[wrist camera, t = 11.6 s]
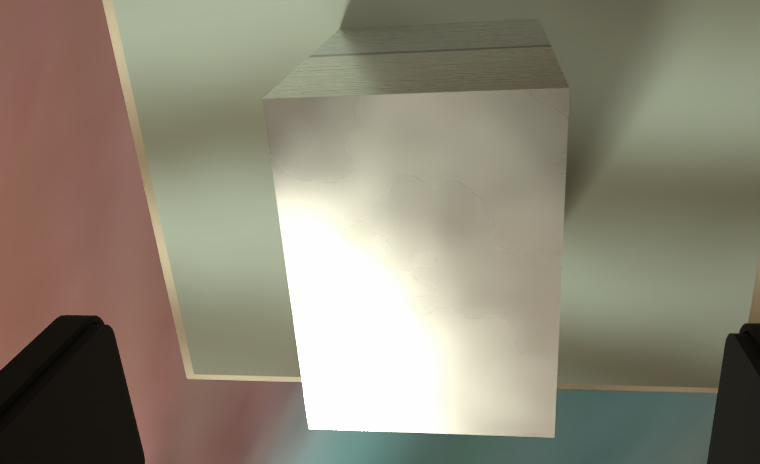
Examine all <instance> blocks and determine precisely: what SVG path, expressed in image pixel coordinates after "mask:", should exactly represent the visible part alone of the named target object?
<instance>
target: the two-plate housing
mask: <svg viewBox="0 0 760 464" xmlns="http://www.w3.org/2000/svg"><path fill="white" fill-rule="evenodd" d="M569 91H570V87H569V85H568V83H567V81H566V78H565V76H564V74H563V72H562V69H561V67H560V65H559V62H558V60H557V58H556V56H555V53H554V51H553V49H552V47H551V44H550V42H549V40H548V37H547V35H546V33H545V31H544V28H543V26H542V24H541V22H540V19H521V20H501V21H482V22H462V23H442V24H422V25H403V26H383V27H363V28H343V29H339V30H337V31H336V32H335V33H334V34H333V35H332V36H331V37H330V38H329V39H328V40H326V41H325V42H324V43H323V44H322V45H321V46H320V47H319V48H318V49H316V50H315V51H314V52H313V53H312V54H311V55H310V56H309V57H308V58H307V59H305V60H304V61H303V62H302V63H301V64H300V65H299V66H298V67H297V68H296V69H294V70H293V71H292V72H291V73H290V74H289V75H288V76H287V77H286V78H285V79H283V80H282V81H281V82H280V83H279V84H278V85H277V86H276V87H275V88H274V89H272V90H271V91H270V92H269V93H268V94H267V95H266V96H265V97H264V98H263V99H262V102H263V109H264V116H265V123H266V130H267V137H268V144H269V151H270V158H271V165H272V172H273V179H274V186H275V193H276V200H277V207H278V215H279V222H280V229H281V236H282V243H283V250H284V257H285V264H286V271H287V278H288V285H289V292H290V299H291V306H292V313H293V320H294V327H295V334H296V341H297V349H298V356H299V363H300V370H301V377H302V384H303V391H304V398H305V405H306V412H307V419H308V426H309V429H327V430H355V431H382V432H410V433H437V434H465V435H492V436H520V437H547V438H555V416H556V392H557V369H558V346H559V323H560V300H561V277H562V254H563V230H564V207H565V184H566V161H567V138H568V115H569Z"/></svg>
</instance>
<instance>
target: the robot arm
mask: <svg viewBox="0 0 760 464" xmlns="http://www.w3.org/2000/svg"><path fill="white" fill-rule="evenodd" d="M0 464H145V458H144V452H143V448H142V444H141V440H140V436H139V432H138V428H137V424H136V420H135V416H134V412H133V408H132V404H131V400H130V396H129V391H128V387H127V383H126V379H125V375H124V371H123V367H122V363H121V359H120V355H119V351H118V347H117V343H116V339H115V335H114V332H113V329H112V328H111V327H110V326H109V325H104V322H103V321H102V319H101V318H100V317H98V316H83V315H64V316H60V317H58V318H57V319H55V320H54V321H53V322H52V323H51V324H50V325H49V326H48V327H47V328H46V329H45V330H44V331H42V332H41V333H40V334H39V335H38V336H37V337H36V338H35V339H34V340H33V341H32V342H31V343H30V344H28V345H27V346H26V347H25V348H24V349H23V350H22V351H21V352H20V353H19V354H18V355H17V356H16V357H14V358H13V359H12V360H11V361H10V362H9V363H8V364H7V365H6V366H5V367H4V368H3V369H2V370H0ZM707 464H760V323H745V324H743V325H742V327H741V329H740V331H739V333H730V334H728V336H727V338H726V342H725V347H724V354H723V361H722V367H721V374H720V381H719V388H718V394H717V401H716V408H715V414H714V421H713V428H712V435H711V441H710V448H709V455H708V462H707Z"/></svg>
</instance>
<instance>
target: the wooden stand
mask: <svg viewBox="0 0 760 464" xmlns="http://www.w3.org/2000/svg"><path fill="white" fill-rule="evenodd" d="M102 1H103V5H104V10H105V14H106V19H107V23H108V28H109V32H110V36H111V41H112V45H113V50H114V54H115V59H116V63H117V68H118V72H119V77H120V81H121V86H122V90H123V95H124V99H125V104H126V108H127V113H128V117H129V121H130V126H131V130H132V135H133V139H134V144H135V148H136V153H137V157H138V162H139V166H140V171H141V175H142V180H143V184H144V189H145V193H146V198H147V202H148V206H149V211H150V215H151V220H152V224H153V229H154V233H155V238H156V242H157V247H158V251H159V256H160V260H161V265H162V269H163V274H164V278H165V283H166V287H167V291H168V296H169V300H170V305H171V309H172V314H173V318H174V323H175V327H176V332H177V336H178V341H179V345H180V350H181V354H182V359H183V363H184V368H185V372H186V377H187V379H212V380H249V381H285V382H302V377H301V370H300V363H299V356H298V349H297V341H296V334H295V327H294V320H293V313H292V306H291V299H290V292H289V285H288V278H287V271H286V264H285V257H284V250H283V243H282V236H281V229H280V222H279V215H278V207H277V200H276V193H275V186H274V179H273V172H272V165H271V158H270V151H269V144H268V137H267V130H266V123H265V116H264V109H263V102H262V99H263V98H264V97H265V96H266V95H267V94H268V93H269V92H270V91H271V90H272V89H274V88H275V87H276V86H277V85H278V84H279V83H280V82H281V81H282V80H283V79H285V78H286V77H287V76H288V75H289V74H290V73H291V72H292V71H293V70H294V69H296V68H297V67H298V66H299V65H300V64H301V63H302V62H303V61H304V60H305V59H307V58H308V57H309V56H310V55H311V54H312V53H313V52H314V51H315V50H316V49H318V48H319V47H320V46H321V45H322V44H323V43H324V42H325V41H326V40H328V39H329V38H330V37H331V36H332V35H333V34H334V33H335V32H336V31H337V30H339V29H343V28H363V27H383V26H403V25H422V24H442V23H462V22H482V21H501V20H521V19H540V22H541V24H542V26H543V28H544V31H545V33H546V35H547V37H548V40H549V42H550V44H551V47H552V49H553V51H554V53H555V56H556V58H557V60H558V62H559V65H560V67H561V69H562V72H563V74H564V76H565V78H566V81H567V83H568V85H569V87H570V91H569V115H568V138H567V161H566V184H565V207H564V230H563V254H562V277H561V300H560V323H559V346H558V369H557V389H580V390H617V391H654V392H690V393H718V388H719V381H720V374H721V367H722V361H723V354H724V347H725V342H726V338H727V336H728V334H730V333H739V331H740V329H741V327H742V325H743V324H745V323H760V0H102Z"/></svg>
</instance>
